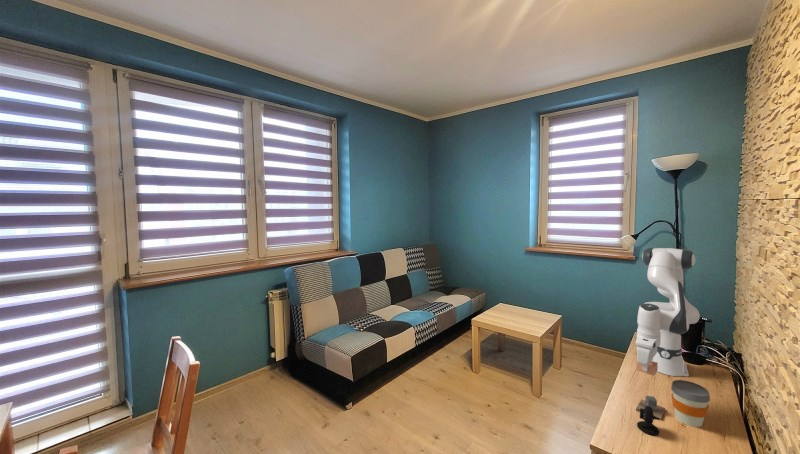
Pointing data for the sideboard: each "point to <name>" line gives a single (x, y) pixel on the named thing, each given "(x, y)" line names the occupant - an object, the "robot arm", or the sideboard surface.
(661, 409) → the base
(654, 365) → the pink square socket block
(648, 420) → the webcam
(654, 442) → the sideboard surface
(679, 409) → the reusable coffee cup
